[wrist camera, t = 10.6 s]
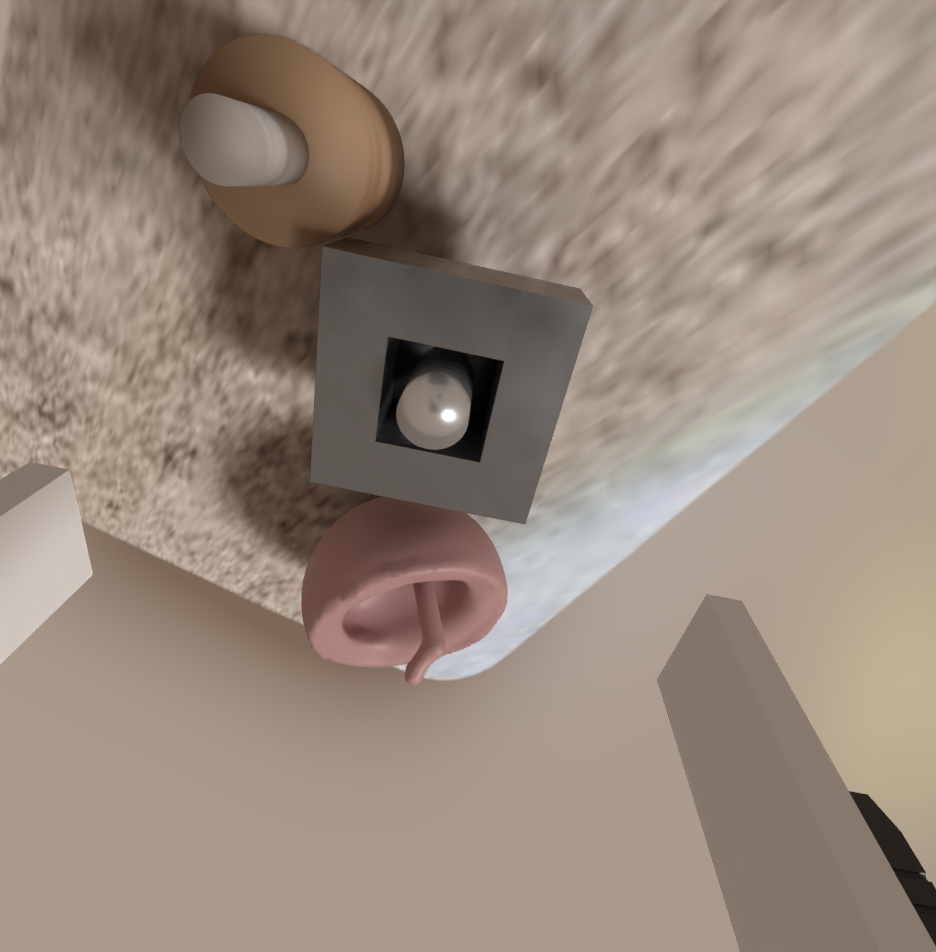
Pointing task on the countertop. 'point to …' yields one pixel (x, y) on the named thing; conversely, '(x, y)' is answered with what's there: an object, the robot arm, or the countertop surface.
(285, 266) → the countertop surface
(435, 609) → the mortar and pestle
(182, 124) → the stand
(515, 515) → the square hole block
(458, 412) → the dark bottle with stopper
